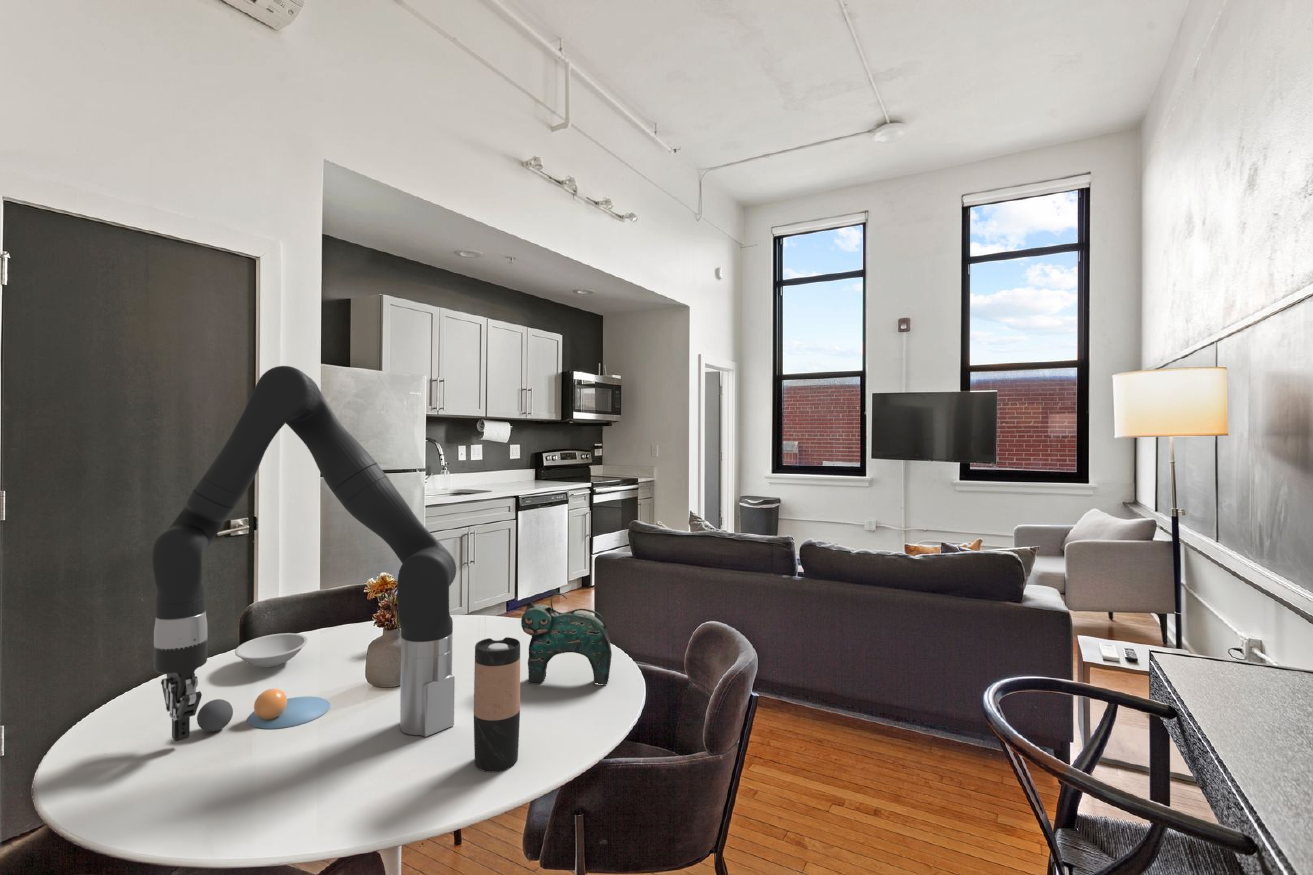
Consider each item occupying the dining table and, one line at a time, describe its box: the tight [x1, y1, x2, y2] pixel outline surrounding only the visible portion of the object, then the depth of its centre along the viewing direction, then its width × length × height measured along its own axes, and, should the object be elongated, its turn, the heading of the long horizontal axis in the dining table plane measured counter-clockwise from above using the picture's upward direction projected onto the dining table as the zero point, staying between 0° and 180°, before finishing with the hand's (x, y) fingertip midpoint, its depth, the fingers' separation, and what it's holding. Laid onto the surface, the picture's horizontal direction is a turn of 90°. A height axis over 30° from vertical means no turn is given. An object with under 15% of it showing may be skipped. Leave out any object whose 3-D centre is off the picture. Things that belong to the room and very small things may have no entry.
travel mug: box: [473, 636, 521, 773], centre depth 110 cm, size 8×8×20 cm
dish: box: [234, 632, 309, 668], centre depth 151 cm, size 18×14×5 cm
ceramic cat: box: [520, 592, 613, 684], centre depth 145 cm, size 20×6×20 cm, turn 87°
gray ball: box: [196, 698, 234, 732], centre depth 119 cm, size 6×6×6 cm
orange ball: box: [253, 688, 288, 720], centre depth 124 cm, size 6×6×6 cm
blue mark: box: [247, 696, 331, 730], centre depth 127 cm, size 14×14×1 cm
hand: (180, 738), depth 113 cm, fingers closed
